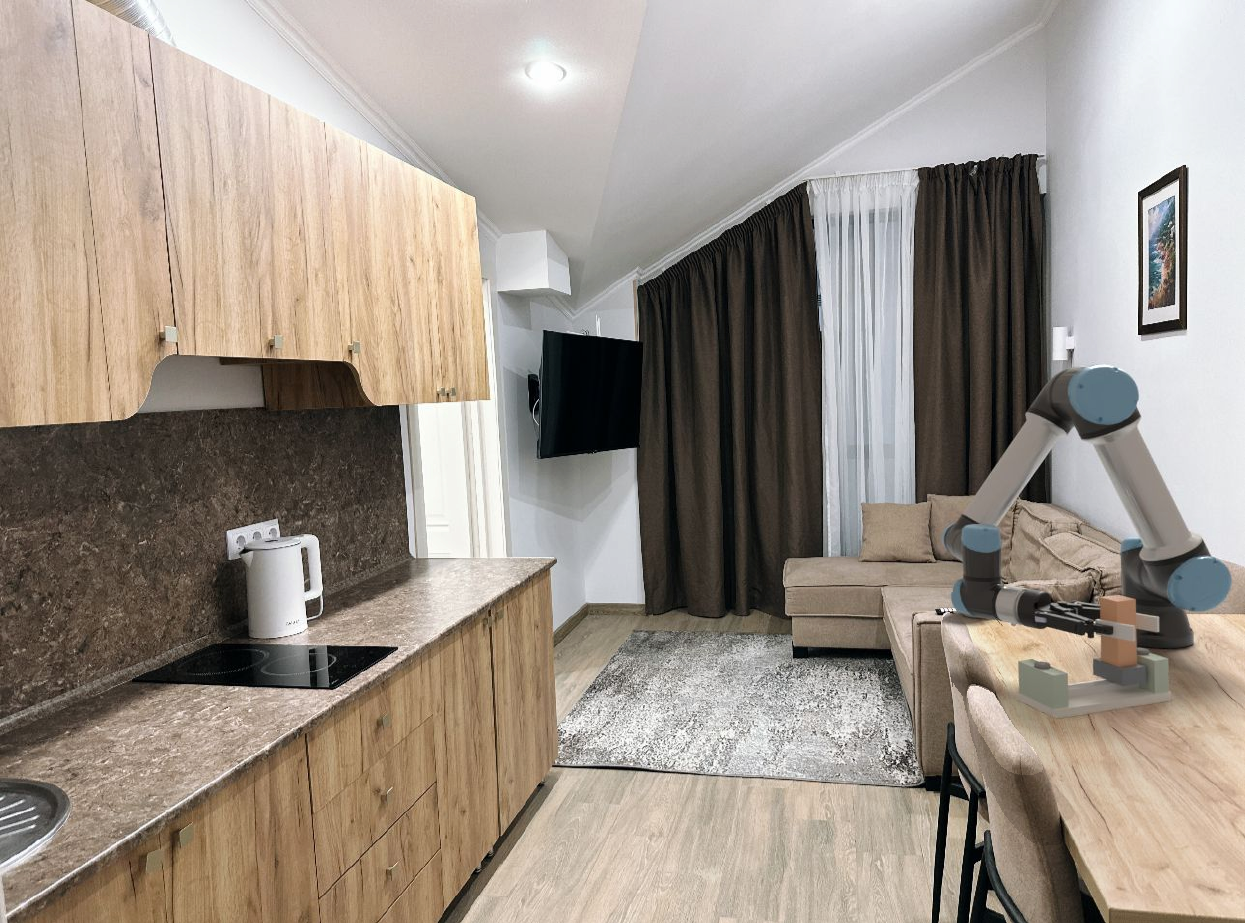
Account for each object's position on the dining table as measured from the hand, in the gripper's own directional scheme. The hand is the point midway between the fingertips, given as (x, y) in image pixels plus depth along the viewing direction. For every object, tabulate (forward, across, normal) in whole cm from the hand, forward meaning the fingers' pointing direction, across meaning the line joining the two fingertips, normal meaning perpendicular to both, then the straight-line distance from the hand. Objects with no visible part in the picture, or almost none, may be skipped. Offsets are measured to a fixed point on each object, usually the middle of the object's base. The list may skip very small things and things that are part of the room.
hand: (1146, 629), depth 151 cm
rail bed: (-7, +5, -14) cm, 16 cm away
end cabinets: (-7, +5, -12) cm, 15 cm away
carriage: (-5, 0, -10) cm, 11 cm away
